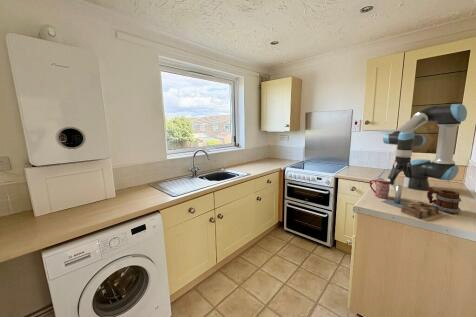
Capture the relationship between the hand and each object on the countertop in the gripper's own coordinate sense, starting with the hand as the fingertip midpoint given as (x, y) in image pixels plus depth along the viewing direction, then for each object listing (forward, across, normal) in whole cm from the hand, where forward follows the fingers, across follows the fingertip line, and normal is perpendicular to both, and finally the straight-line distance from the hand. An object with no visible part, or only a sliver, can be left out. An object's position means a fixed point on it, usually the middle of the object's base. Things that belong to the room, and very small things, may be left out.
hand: (398, 188), depth 128 cm
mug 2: (+11, -16, +16) cm, 25 cm away
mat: (+11, 0, 0) cm, 11 cm away
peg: (+10, 0, 0) cm, 10 cm away
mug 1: (+11, -2, -13) cm, 17 cm away
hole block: (+11, +2, +14) cm, 18 cm away
